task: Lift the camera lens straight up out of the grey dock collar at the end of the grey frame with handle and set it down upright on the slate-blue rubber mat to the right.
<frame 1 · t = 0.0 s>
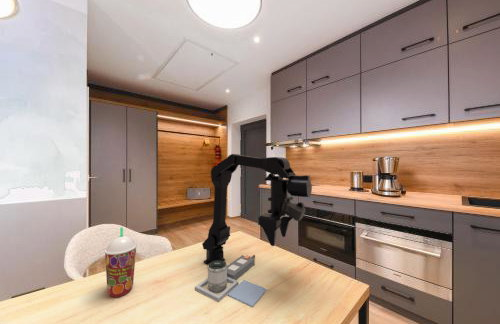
hand: (278, 240, 66), 15 cm above the table, fingers open, 9 cm apart
mat: (247, 292, 61), on the table
smoothie: (120, 291, 61), on the table
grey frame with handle: (217, 287, 64), on the table
camera lens: (217, 287, 64), resting in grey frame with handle
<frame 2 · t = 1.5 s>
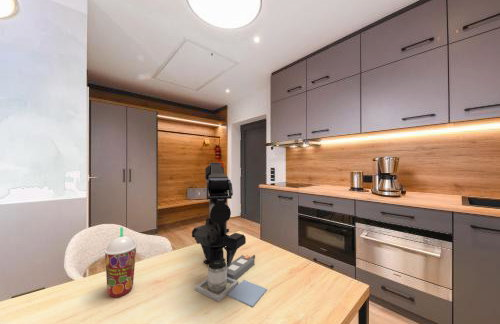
hand: (217, 261, 64), 8 cm above the table, fingers open, 9 cm apart
nothing on the table moved.
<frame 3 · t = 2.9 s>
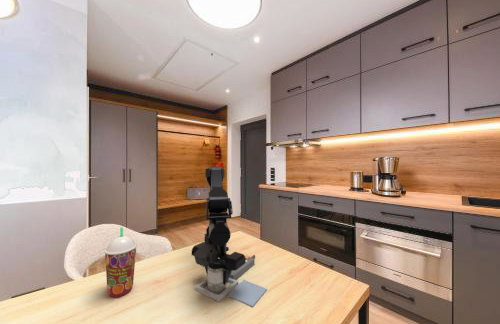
hand: (217, 280, 64), 2 cm above the table, fingers closed on camera lens, 6 cm apart
camera lens: (217, 287, 64), resting in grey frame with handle, touching gripper
everything else where it was.
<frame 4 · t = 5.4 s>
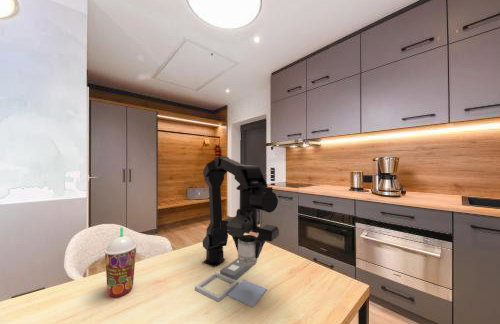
hand: (247, 255, 61), 12 cm above the table, fingers closed on camera lens, 6 cm apart
camera lens: (247, 262, 61), point 9 cm above the table, touching gripper
everything else where it was.
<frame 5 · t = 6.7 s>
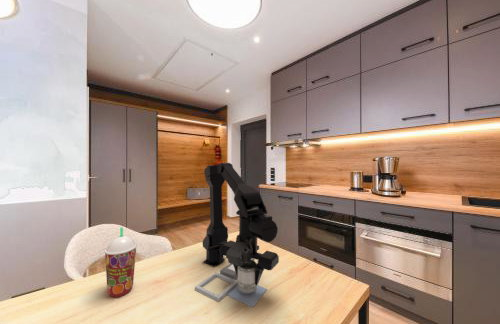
hand: (247, 280, 61), 4 cm above the table, fingers closed on camera lens, 6 cm apart
camera lens: (247, 288, 61), point 1 cm above the table, touching gripper
everything else where it was.
when the fingers open (3 cm above the table, at t = 7.7 s): camera lens stays where it is, resting on mat.
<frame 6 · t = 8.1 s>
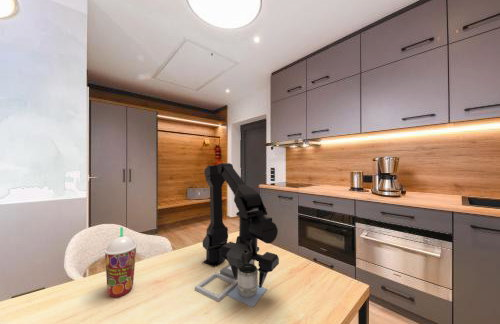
hand: (247, 282, 61), 3 cm above the table, fingers open, 9 cm apart
camera lens: (247, 292, 61), resting on mat
everything else where it was.
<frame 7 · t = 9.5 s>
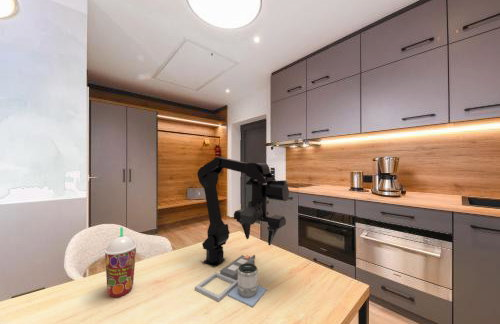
hand: (258, 241, 70), 13 cm above the table, fingers open, 9 cm apart
nothing on the table moved.
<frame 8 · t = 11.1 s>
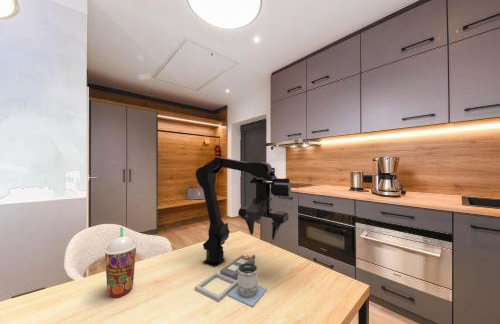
hand: (262, 237, 74), 13 cm above the table, fingers open, 9 cm apart
nothing on the table moved.
at the end: camera lens 0.1 cm from the mat (horizontally); camera lens tilted 0°; camera lens resting on mat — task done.
